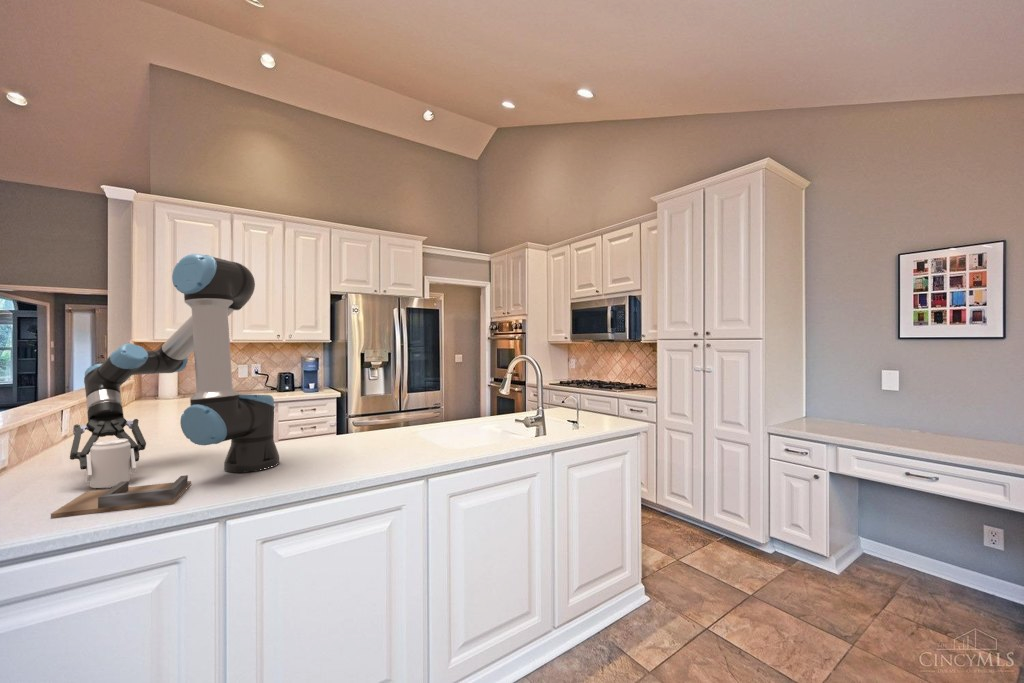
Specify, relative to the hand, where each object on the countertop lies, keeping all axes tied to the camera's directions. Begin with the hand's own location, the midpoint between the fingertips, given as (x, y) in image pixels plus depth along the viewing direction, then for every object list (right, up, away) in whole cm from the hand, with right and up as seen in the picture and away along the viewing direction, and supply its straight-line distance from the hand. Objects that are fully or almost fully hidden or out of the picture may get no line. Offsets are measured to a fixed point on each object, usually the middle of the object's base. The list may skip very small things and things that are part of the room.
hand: (112, 474), depth 115 cm
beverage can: (-3, -4, +2) cm, 5 cm away
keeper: (+12, -4, -9) cm, 15 cm away
